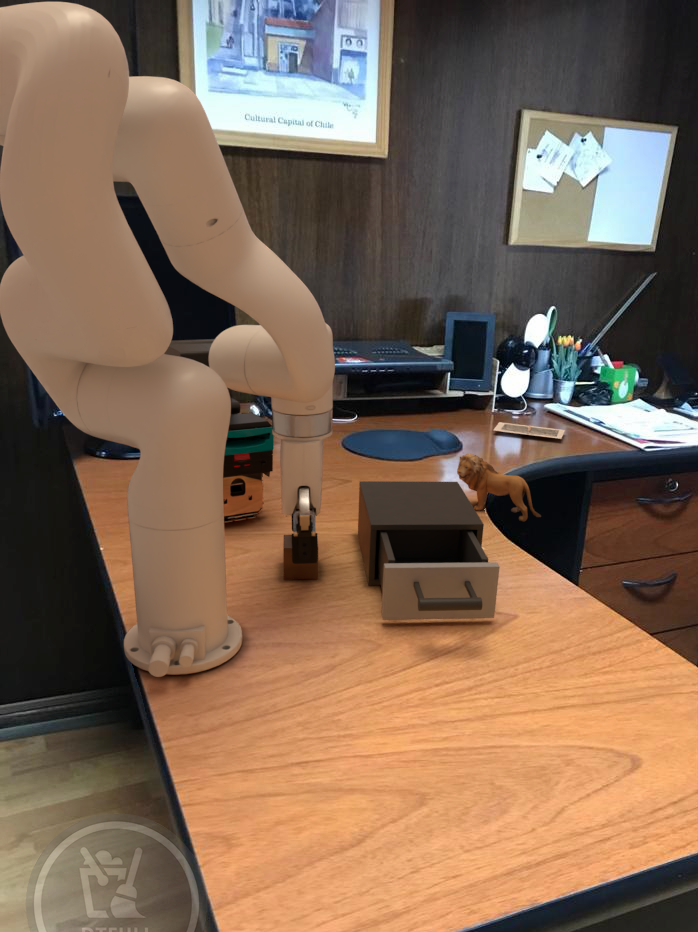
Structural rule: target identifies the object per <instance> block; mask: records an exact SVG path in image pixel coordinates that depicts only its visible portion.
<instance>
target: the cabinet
mask: <svg viewBox="0 0 698 932" xmlns="http://www.w3.org/2000/svg"><path fill="white" fill-rule="evenodd" d="M358 487H359V488H358V489H359V490H358V518H357V538H358V543H359V548H360V552H361V557H362V562H363V566H364V567H363V568H364V572H365V577H366V580H367V584H368V585H367V586H381V584H380V580H379V576H378V572H377V568H376V564H375V559H376V536H377V530H472V531H473V533H474V535H475V536H476V538H477V540H478V542H479V544H480V545H481V547H482V545H483V538H484V537H483V536H484V526H485V525H484V522H483V521H482V519H481V517H480V516H479V513H477V510H475V509H474V506H473V505H472V503H471V501H470V500H469V498H468V497H467V495H466V493H465V492H464V490H463V488H462V486H461V485H460V483H459V482H458V481H397V480H396V481H394V480H393V481H391V480H390V481H389V480H388V481H387V480H386V481H384V480H383V481H381V480H380V481H379V480H377V481H375V480H373V481H372V480H371V481H368V480H367V481H366V480H365V481H364V480H363V481H361V480H360V481H359V486H358ZM482 548H483V547H482Z"/></svg>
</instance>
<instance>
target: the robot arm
mask: <svg viewBox="0 0 698 932" xmlns="http://www.w3.org/2000/svg"><path fill="white" fill-rule="evenodd" d="M0 146H2V147H3V148H2V156H1V160H0V204H1V208H2V214H3V216H4V217H3V218H4V221H5V222H6V225H7V227H8V229H9V231H10V234H11V235H12V238H13V239H14V241H15V242H16V245H17V246H18V248H19V250H20V251H21V253H22V255H21V256H20V257H18V258H16V259H15V260H14V261H13V262H12V263H11V264H10V265H9V266H8V268H6V270H5V272H4V273H3V276H2V278H1V281H0V318H1V322H2V325H3V327H4V330H5V332H6V334H7V337H8V338H9V340H10V341H11V343H12V345H13V346H14V348H15V349H16V351H17V352H18V354H19V355H20V356H21V358H22V360H23V361H24V363H26V365H27V366H28V368H29V369H30V370H31V372H32V373H33V375H34V376H35V377H36V379H37V380H38V381H39V383H40V384H41V386H42V387H43V389H44V390H45V392H46V393H47V394H48V396H49V397H50V398H51V400H52V401H53V403H55V405H56V406H57V408H58V409H59V410H60V412H61V413H62V414H63V416H64V417H65V418H66V419H67V420H68V421H69V422H70V423H71V424H72V425H73V426H74V427H75V428H77V429H78V430H79V431H81V432H83V433H84V434H87V435H89V436H92V437H95V438H97V439H101V440H104V441H109V442H113V443H118V444H121V445H125V446H129V447H131V448H134V449H135V448H136V449H138V450H139V452H140V455H139V460H138V463H137V465H136V466H135V469H134V471H133V473H132V475H131V477H130V479H129V483H128V487H127V491H126V493H127V494H126V506H127V507H126V509H127V518H128V529H129V531H128V532H129V541H130V553H131V554H130V555H131V565H132V578H133V590H134V601H135V603H134V604H135V614H136V623H135V624H134V625H133V626H132V627H131V628H129V630H128V631H127V632H126V633H125V636H124V639H123V650H124V655H125V657H126V659H127V660H128V661H129V662H130V663H131V664H132V665H134V666H135V667H137V668H139V669H141V670H143V671H147V672H148V673H149V674H150V675H151V676H153V677H156V678H161V677H164V676H166V675H169V676H170V675H171V676H172V675H173V676H174V675H176V676H177V675H189V674H196V673H200V672H204V671H207V670H211V669H213V668H216V667H218V666H220V665H222V664H224V663H226V662H227V661H229V660H230V659H231V658H233V657H234V656H235V655H236V654H237V653H238V652H239V651H240V649H241V647H242V644H243V629H242V627H241V624H240V623H239V622H238V621H237V620H236V619H235V618H233V617H231V615H228V598H227V597H228V596H227V595H228V593H227V592H228V591H227V569H226V568H227V567H226V563H227V562H226V537H225V536H226V535H225V534H226V533H225V522H224V505H223V465H224V453H225V446H226V440H227V434H228V429H229V423H230V416H231V400H230V395H229V391H228V389H227V388H229V389H232V391H236V392H239V393H244V394H249V395H255V396H259V397H260V396H261V397H268V398H270V399H271V400H270V401H271V425H272V434H273V435H274V437H275V438H277V439H278V440H280V448H279V449H280V451H279V453H280V454H279V455H280V456H279V457H280V458H279V459H280V461H279V462H280V463H279V464H280V499H281V515H282V516H284V517H285V518H287V517H288V516H291V531H292V532H293V533H291V535H292V562H293V563H294V564H309V563H317V561H318V562H319V550H318V551H317V538H318V532H317V529H316V517H317V516H318V515H320V514H321V506H322V496H323V495H322V493H323V481H324V480H323V477H324V476H323V475H324V440H326V439H329V438H330V437H332V436H333V434H334V430H333V428H334V427H333V426H334V424H333V423H334V422H333V415H334V412H333V411H334V410H333V409H334V383H333V382H334V378H335V373H336V358H335V353H334V338H333V331H332V328H331V326H330V325H329V324H327V323H326V322H325V321H326V320H325V318H324V316H323V313H322V309H321V308H320V305H319V303H318V301H317V300H316V298H315V296H314V295H313V294H312V292H311V290H310V289H309V288H308V286H307V285H306V284H305V283H304V282H303V281H302V280H301V278H299V277H298V275H297V274H296V273H295V272H294V271H293V270H292V269H291V268H290V267H289V266H288V265H287V264H286V263H285V262H284V261H283V260H282V259H281V258H280V257H279V256H278V255H277V254H276V252H274V251H273V250H271V248H269V247H268V246H267V245H266V244H265V243H264V242H263V241H262V240H261V239H259V238H258V237H257V236H256V235H255V233H254V231H253V230H252V227H251V226H250V223H249V221H248V218H247V215H246V212H245V210H244V207H243V204H242V202H241V200H240V197H239V194H238V192H237V189H236V186H235V184H234V182H233V179H232V176H231V174H230V171H229V168H228V166H227V163H226V161H225V158H224V156H223V153H222V150H221V148H220V145H219V143H218V140H217V138H216V135H215V133H214V130H213V127H212V124H211V122H210V120H209V118H208V115H207V112H206V110H205V108H204V106H203V104H202V103H201V100H200V99H199V97H198V96H197V95H196V94H195V93H194V91H193V90H192V89H191V88H189V87H188V86H187V85H185V84H184V83H182V82H180V81H177V80H175V79H172V78H168V77H163V76H148V75H143V76H142V75H141V76H130V70H129V63H128V58H127V55H126V50H125V47H124V45H123V42H122V40H121V38H120V36H119V34H118V33H117V31H116V30H115V28H114V26H113V25H112V24H111V22H110V21H109V20H108V19H106V17H104V15H102V14H101V13H99V12H97V10H95V9H92V8H90V7H87V6H84V5H81V4H79V3H74V2H66V1H39V2H29V3H28V2H27V3H20V4H12V5H7V6H0ZM114 182H119V183H121V182H122V183H130V184H131V185H132V187H133V188H134V190H135V193H136V194H137V197H138V199H139V200H140V203H141V204H142V206H143V208H144V210H145V212H146V214H147V216H148V218H149V220H150V222H151V224H152V226H153V228H154V230H155V231H156V234H157V236H158V238H159V241H160V242H161V245H162V247H163V248H164V251H165V254H166V255H167V257H168V259H169V261H170V263H171V265H172V266H173V268H174V269H175V270H176V271H177V272H178V273H179V274H180V275H181V276H182V277H184V278H186V279H187V280H188V281H189V282H191V283H192V284H194V285H196V286H198V287H199V288H201V289H202V290H204V291H206V292H208V293H210V294H212V295H214V296H215V297H218V299H219V298H220V299H221V300H223V301H224V302H226V303H228V304H231V305H232V306H235V307H236V308H238V309H239V310H241V312H244V313H245V314H246V315H248V316H249V317H250V318H251V319H253V320H254V321H256V323H258V324H240V325H238V324H237V325H233V326H231V327H228V328H226V329H225V330H223V331H221V332H220V333H219V334H218V335H217V336H216V337H215V338H214V339H215V340H214V341H213V343H212V345H211V347H210V351H209V367H208V366H206V365H204V364H202V363H200V362H197V361H195V360H192V359H188V358H184V357H179V356H173V355H167V354H164V353H165V352H166V351H167V349H168V347H169V345H170V343H171V341H173V335H174V324H173V323H174V322H173V318H172V313H171V309H170V306H169V304H168V301H167V298H166V297H165V295H164V293H163V291H162V289H161V287H160V285H159V282H158V280H157V279H156V276H155V274H154V272H153V271H152V269H151V267H150V265H149V263H148V261H147V259H146V257H145V254H144V253H143V251H142V248H141V247H140V245H139V243H138V241H137V239H136V237H135V235H134V233H133V230H132V229H131V227H130V225H129V224H128V221H127V219H126V216H125V213H124V211H123V210H122V207H121V205H120V203H119V200H118V197H117V194H116V190H115V185H114Z"/></svg>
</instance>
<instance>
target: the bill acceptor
mask: <svg viewBox="0 0 698 932" xmlns="http://www.w3.org/2000/svg"><path fill="white" fill-rule="evenodd" d="M215 339H216V338H211V339H210V338H209V339H206V338H205V339H184V340H183V339H181V340H180V339H179V340H171V343H170V345H169V347H168V349H167V351H166V352H165V353H164V354H167V355H173V356H179V357H184V358H188V359H192V360H195V361H197V362H200V363H202V364H204V365H206V366H208V367H209V351H210V347H211V345H212V343H213V341H214V340H215ZM227 389H228V391H229V395H230V400H231V416H230V423H229V429H228V434H227V440H226V446H225V453H224V465H223V505H224V523H230V522H233V521H235V522H236V521H243V520H247V519H248V520H249V519H256V517H257V516H256V514H257V515H258V514H259V513H261V512H262V510H263V509H264V504H265V503H264V483H263V482H264V479H263V478H264V476H267V477H268V478H270V475H271V473H272V472H273V471H274V464H273V463H274V446H275V445H274V441H275V438H274V437H275V436H274V435H273V434H272V423H270V422H269V421H268V420H266V419H265V418H263V417H260V416H258V415H257V414H255V413H254V412H241V403H240V401H238V400H236V399H234V398H233V390H232V389H229V388H227Z"/></svg>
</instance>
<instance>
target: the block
mask: <svg viewBox="0 0 698 932" xmlns="http://www.w3.org/2000/svg"><path fill="white" fill-rule="evenodd" d="M282 547H283V550H282V551H283V553H282V555H283V564H282V566H283V567H282V568H283V580H319V560H318V561H317V563H309V564H294V563H293V562H292V534H283V543H282ZM317 551H318V552H319V539H318V537H317Z"/></svg>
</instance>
